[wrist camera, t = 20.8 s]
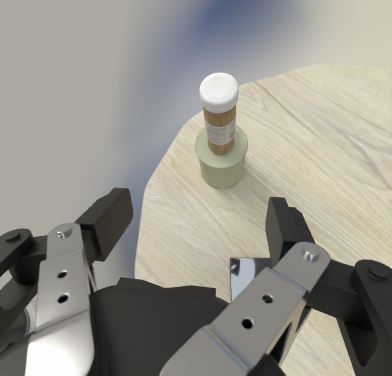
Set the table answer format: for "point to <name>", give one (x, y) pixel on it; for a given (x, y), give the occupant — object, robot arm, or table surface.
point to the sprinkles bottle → (219, 110)
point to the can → (222, 160)
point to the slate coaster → (245, 272)
